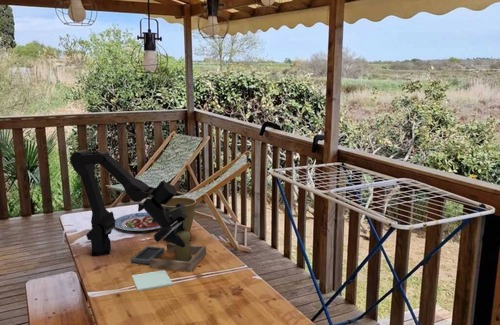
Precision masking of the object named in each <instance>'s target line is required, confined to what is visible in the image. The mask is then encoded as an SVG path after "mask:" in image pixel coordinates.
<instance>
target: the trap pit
mask: <svg viewBox="0 0 500 325" xmlns="http://www.w3.org/2000/svg"><path fill="white" fill-rule="evenodd" d="M164 252H165V247H161V246H149V245H147V246H145V247H144V248H143V249H141V250H140V251H139V252H138V253H137V254H135V255H134V256H132V257H131V258H130V264H135V265H145V266H149V259H150V258H157V259H159V257H160V256H162V254H164Z"/></svg>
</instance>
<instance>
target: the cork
mask: <svg viewBox="0 0 500 325" xmlns="http://www.w3.org/2000/svg"><path fill="white" fill-rule="evenodd" d="M177 234H178V236H179V237H180V238H181V240H182V241H183V242H184V244H185V247H181V246H178V245H177V252H175V260H176V261H186V262H189V261H190V260H191V259H192V258H193V255H192V254H191V249H190V245H191V243H190V242H189V240H191V233H189V232H188V231H180V232H178V233H177Z"/></svg>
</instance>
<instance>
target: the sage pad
mask: <svg viewBox="0 0 500 325" xmlns="http://www.w3.org/2000/svg"><path fill="white" fill-rule="evenodd" d="M131 278H132V280H133V283H134V285H135V289H136V290H137V292H141V291H147V290H152V289H158V288H164V287H169V286H173V281H172V279H171V277H169V275H168V273H167V271H166V269H163V270H158V271H157V270H156V271H152V272H151V271H150V272H145V273H140V274H139V273H138V274H132V275H131Z"/></svg>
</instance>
